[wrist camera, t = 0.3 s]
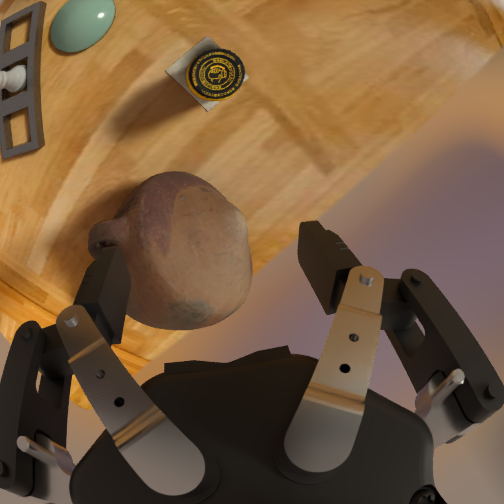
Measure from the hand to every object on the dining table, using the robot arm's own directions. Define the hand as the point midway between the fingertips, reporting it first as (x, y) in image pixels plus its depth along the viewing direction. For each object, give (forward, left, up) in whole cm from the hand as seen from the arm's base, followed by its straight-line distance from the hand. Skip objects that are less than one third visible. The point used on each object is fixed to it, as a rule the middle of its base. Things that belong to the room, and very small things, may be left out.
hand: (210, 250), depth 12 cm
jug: (+16, -7, -29) cm, 34 cm away
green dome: (-20, -17, -28) cm, 39 cm away
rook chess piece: (-14, -28, -29) cm, 42 cm away
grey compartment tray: (-14, -28, -28) cm, 42 cm away
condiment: (-9, +1, -29) cm, 30 cm away
